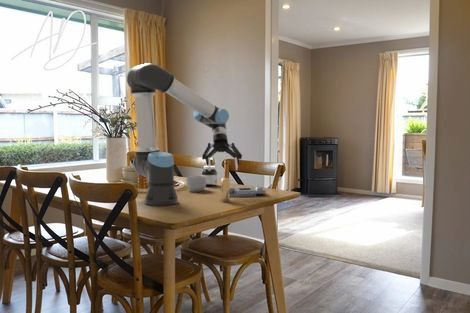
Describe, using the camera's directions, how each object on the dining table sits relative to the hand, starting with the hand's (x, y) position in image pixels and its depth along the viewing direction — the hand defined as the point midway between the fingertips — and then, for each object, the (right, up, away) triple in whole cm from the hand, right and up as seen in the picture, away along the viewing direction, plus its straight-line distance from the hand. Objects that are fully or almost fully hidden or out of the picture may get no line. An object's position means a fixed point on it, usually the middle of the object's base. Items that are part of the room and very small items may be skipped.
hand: (223, 169), depth 204 cm
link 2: (+13, -14, +9) cm, 21 cm away
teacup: (-15, -13, +22) cm, 30 cm away
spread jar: (-11, -11, +39) cm, 42 cm away
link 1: (+8, -14, +8) cm, 18 cm away
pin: (+1, -15, -9) cm, 18 cm away
